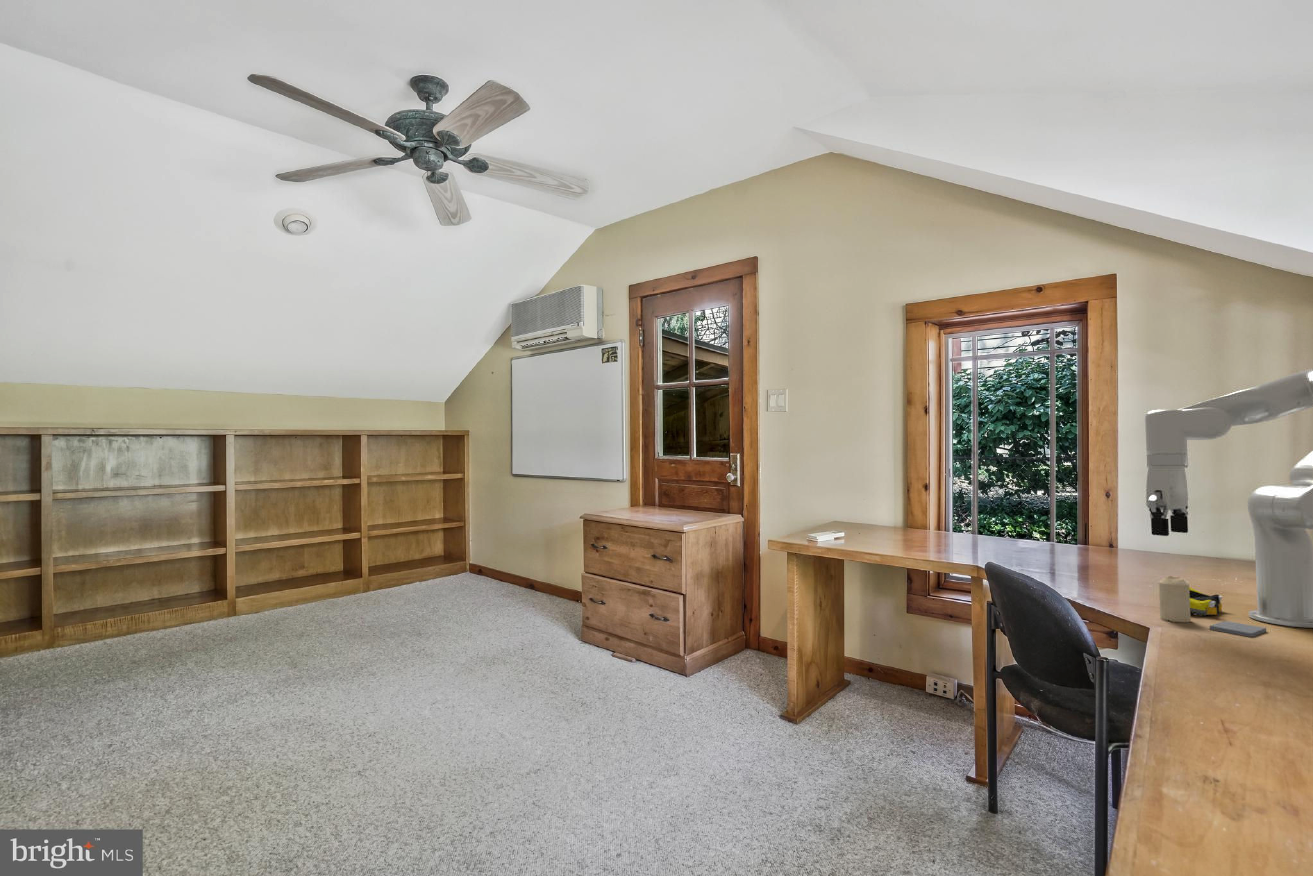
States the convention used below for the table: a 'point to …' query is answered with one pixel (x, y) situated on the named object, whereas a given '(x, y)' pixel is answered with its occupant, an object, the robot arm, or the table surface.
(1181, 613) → the candle
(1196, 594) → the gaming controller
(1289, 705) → the table surface
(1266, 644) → the table surface
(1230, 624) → the grey flat block
